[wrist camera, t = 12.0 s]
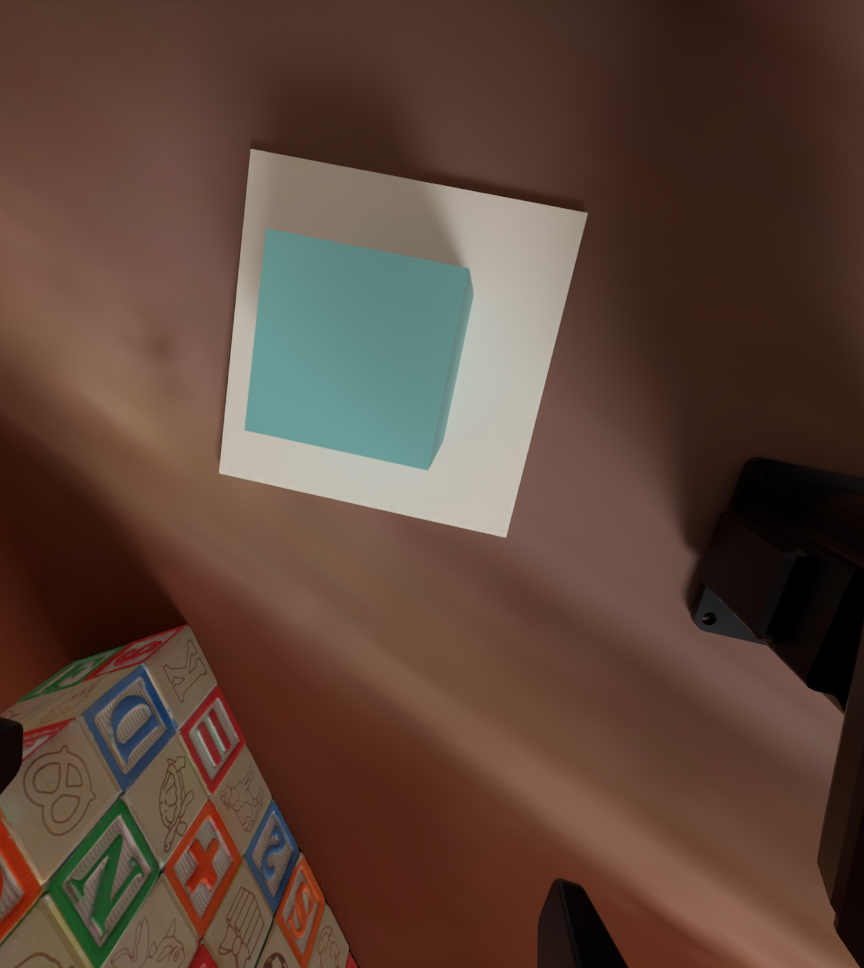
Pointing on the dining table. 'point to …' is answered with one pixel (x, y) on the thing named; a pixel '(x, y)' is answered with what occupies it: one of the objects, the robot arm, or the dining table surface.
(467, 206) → the white mat
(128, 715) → the stack of blocks
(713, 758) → the dining table surface
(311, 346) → the teal block
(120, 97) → the dining table surface
